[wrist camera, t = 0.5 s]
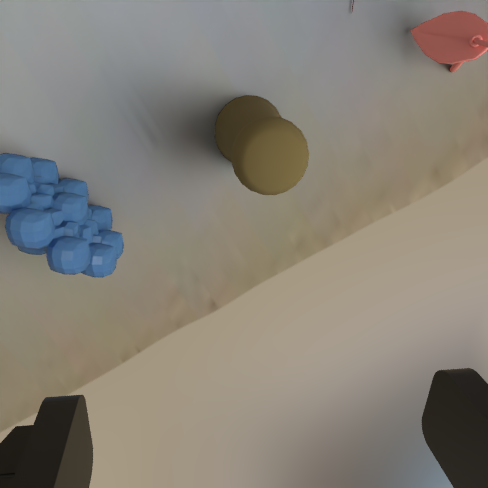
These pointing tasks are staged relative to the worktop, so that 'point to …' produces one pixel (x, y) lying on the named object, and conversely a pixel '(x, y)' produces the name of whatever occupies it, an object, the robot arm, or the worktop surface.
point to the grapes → (56, 218)
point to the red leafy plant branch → (452, 38)
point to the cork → (261, 145)
